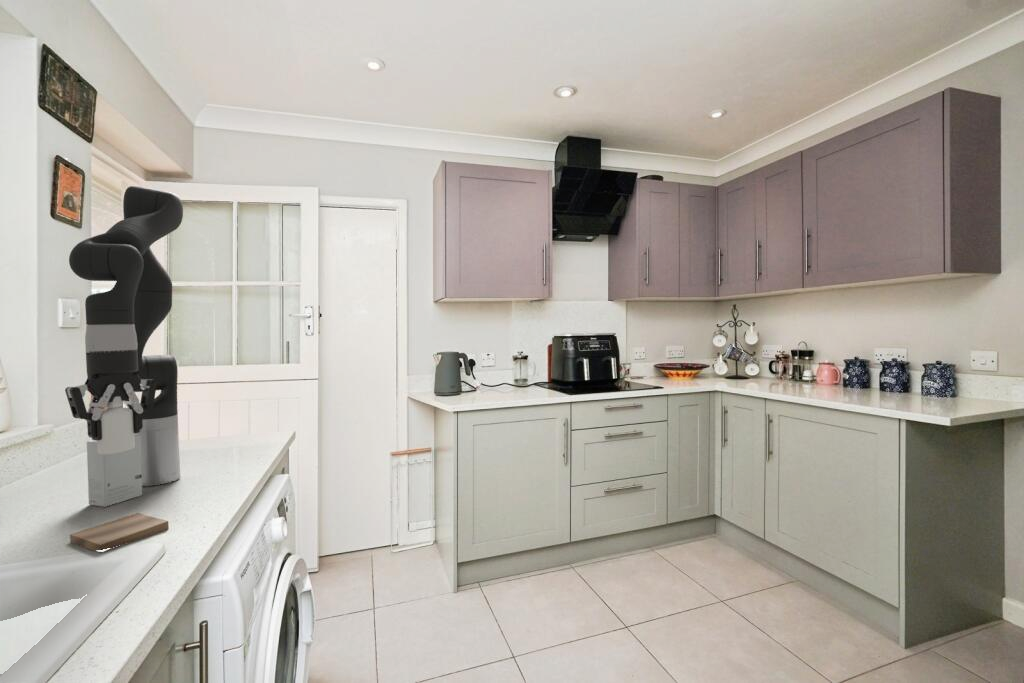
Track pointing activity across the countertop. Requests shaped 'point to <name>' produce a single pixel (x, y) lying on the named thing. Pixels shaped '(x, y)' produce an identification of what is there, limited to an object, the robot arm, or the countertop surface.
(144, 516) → the walnut board
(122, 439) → the eye dropper bottle
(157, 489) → the countertop surface
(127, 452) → the skincare box
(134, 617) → the countertop surface
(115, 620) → the countertop surface
